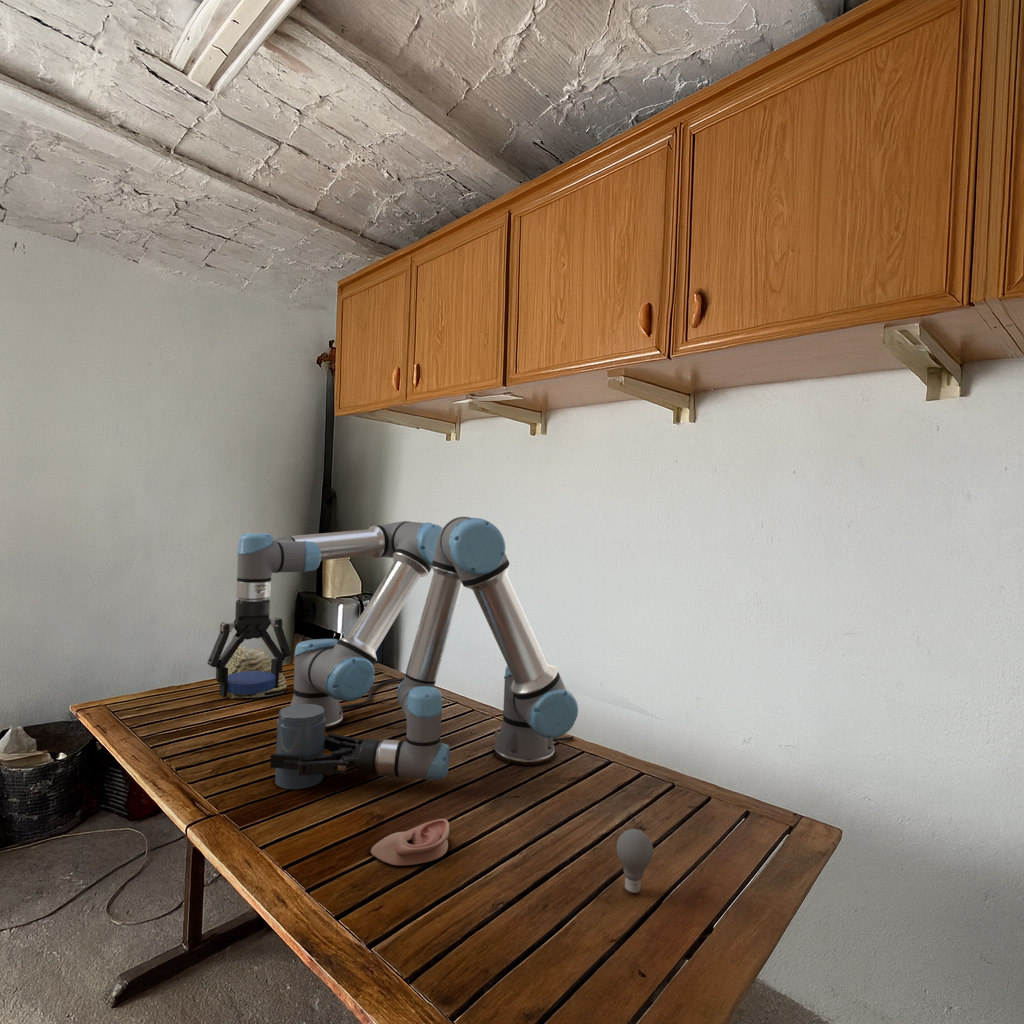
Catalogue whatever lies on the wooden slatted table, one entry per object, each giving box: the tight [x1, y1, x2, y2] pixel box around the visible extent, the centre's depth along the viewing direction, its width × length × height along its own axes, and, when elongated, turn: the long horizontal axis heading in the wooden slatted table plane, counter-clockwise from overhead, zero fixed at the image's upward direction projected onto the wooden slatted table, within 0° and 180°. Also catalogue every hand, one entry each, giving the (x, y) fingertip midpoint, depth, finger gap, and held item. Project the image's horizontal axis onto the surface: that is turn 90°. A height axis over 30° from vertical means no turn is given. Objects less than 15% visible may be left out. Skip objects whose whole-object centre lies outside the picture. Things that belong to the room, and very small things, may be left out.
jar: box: [274, 704, 326, 790], centre depth 142 cm, size 10×10×15 cm
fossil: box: [225, 646, 288, 699], centre depth 198 cm, size 9×18×15 cm, turn 132°
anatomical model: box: [370, 818, 450, 867], centre depth 115 cm, size 13×4×12 cm
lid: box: [227, 671, 276, 694], centre depth 149 cm, size 11×12×2 cm
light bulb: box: [615, 828, 654, 894], centre depth 106 cm, size 6×6×10 cm
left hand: (249, 691), depth 149 cm, fingers closed on lid, 11 cm apart
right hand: (282, 750), depth 142 cm, fingers closed on jar, 10 cm apart
